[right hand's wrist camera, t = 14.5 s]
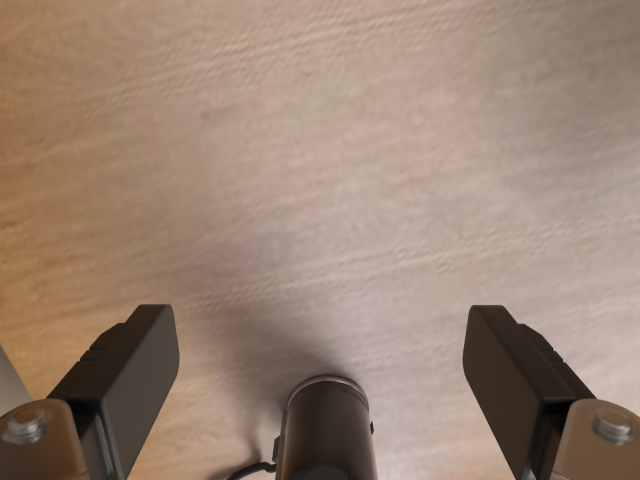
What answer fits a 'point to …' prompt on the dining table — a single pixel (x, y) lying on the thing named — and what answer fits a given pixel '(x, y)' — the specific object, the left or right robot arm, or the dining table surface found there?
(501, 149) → the dining table surface
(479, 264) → the dining table surface
